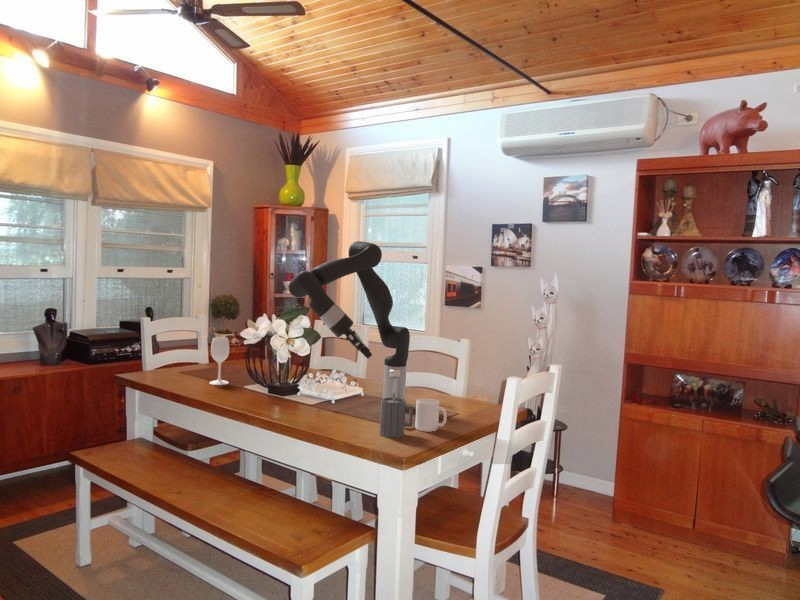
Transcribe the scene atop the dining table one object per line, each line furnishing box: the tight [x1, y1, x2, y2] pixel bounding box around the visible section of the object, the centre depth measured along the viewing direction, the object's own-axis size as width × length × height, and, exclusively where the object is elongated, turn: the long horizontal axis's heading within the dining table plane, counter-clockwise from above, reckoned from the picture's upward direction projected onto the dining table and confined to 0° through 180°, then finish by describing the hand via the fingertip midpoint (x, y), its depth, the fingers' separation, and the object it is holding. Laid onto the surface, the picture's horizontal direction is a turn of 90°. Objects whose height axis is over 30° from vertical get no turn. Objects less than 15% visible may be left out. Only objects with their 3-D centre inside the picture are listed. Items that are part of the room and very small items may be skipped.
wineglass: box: [209, 336, 230, 386], centre depth 271 cm, size 9×9×21 cm
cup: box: [414, 398, 448, 433], centre depth 211 cm, size 8×12×10 cm
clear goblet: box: [387, 369, 401, 402], centre depth 202 cm, size 5×5×12 cm
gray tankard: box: [379, 397, 414, 439], centre depth 203 cm, size 8×11×12 cm
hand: (368, 354), depth 200 cm, fingers open, 8 cm apart
